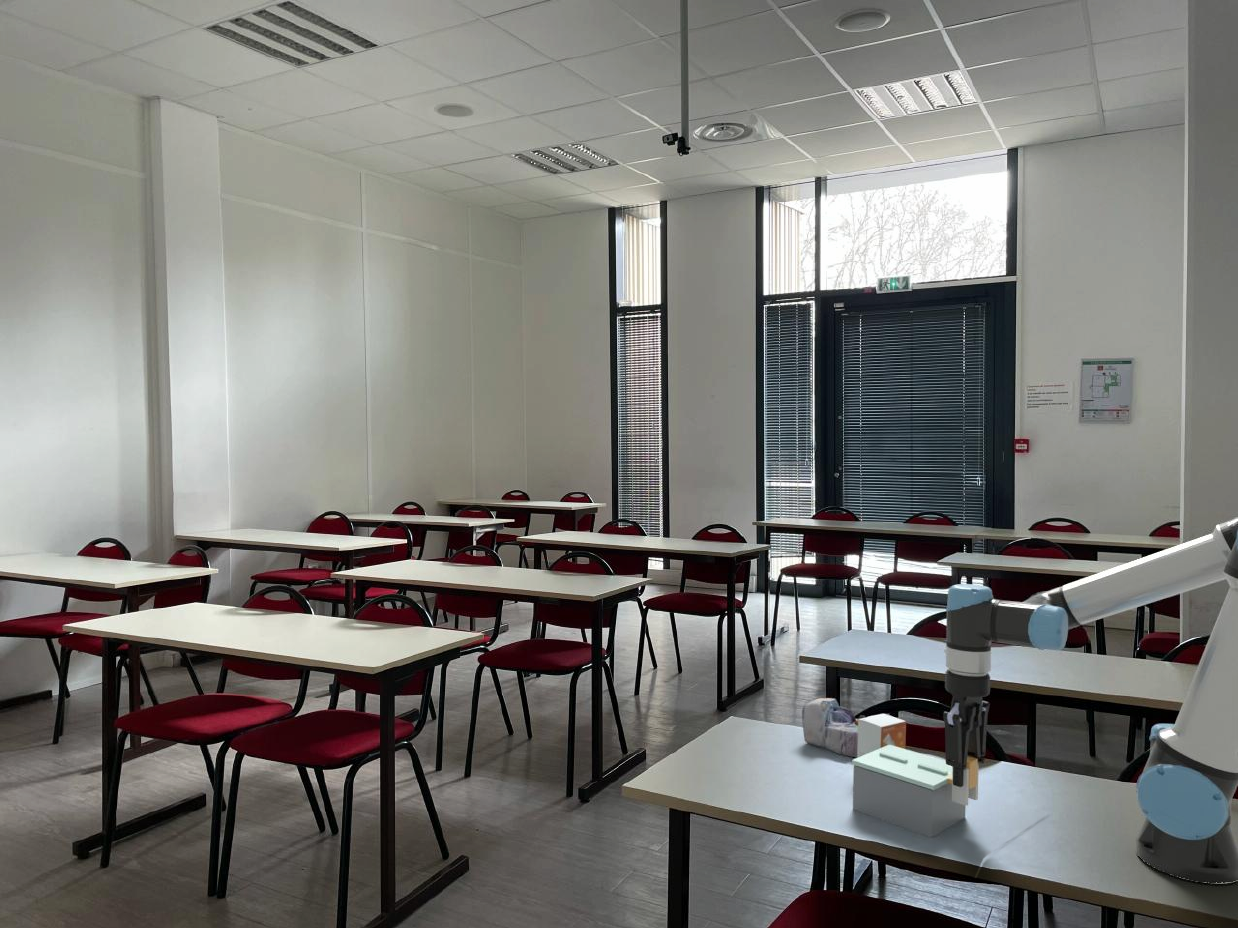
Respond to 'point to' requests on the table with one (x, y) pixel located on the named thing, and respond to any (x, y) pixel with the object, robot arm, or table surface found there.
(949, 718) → the robot arm
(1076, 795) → the table surface
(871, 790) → the tub
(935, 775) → the lid
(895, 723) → the small box
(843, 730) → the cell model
